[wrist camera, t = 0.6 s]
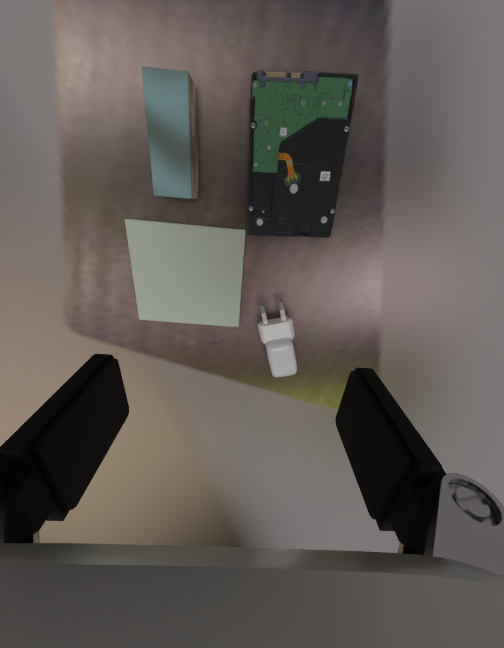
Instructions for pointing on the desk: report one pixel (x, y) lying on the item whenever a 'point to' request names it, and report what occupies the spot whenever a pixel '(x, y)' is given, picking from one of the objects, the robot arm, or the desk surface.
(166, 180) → the teal-faced wooden block
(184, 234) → the mat
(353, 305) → the desk surface
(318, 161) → the disk drive
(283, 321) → the power adapter
